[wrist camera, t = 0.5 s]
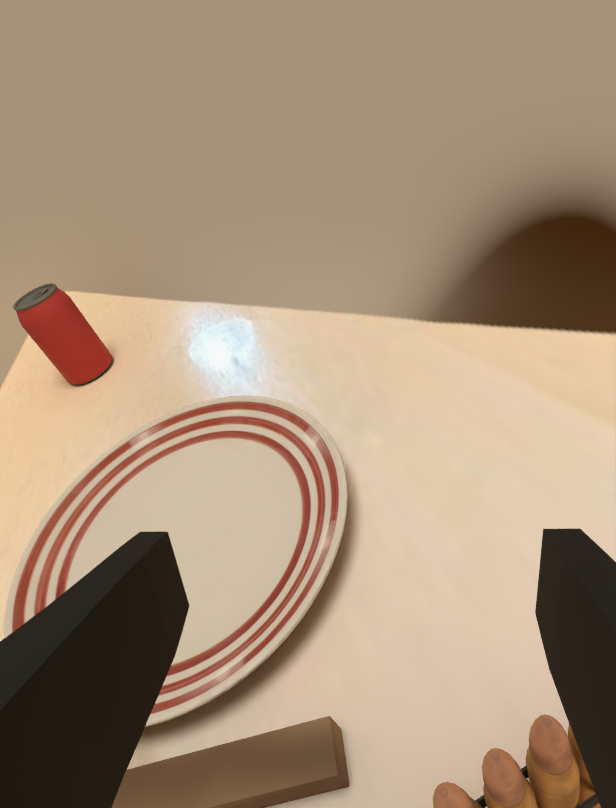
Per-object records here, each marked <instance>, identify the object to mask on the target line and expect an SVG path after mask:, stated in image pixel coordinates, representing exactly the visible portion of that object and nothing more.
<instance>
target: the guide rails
mask: <svg viewBox="0 0 616 808" xmlns="http://www.w3.org/2000/svg"><path fill="white" fill-rule="evenodd" d="M348 786H349V780H348V773H347V767H346V760H345V753H344V746H343V739H342V733H341V729H340V727H339V726H338V725H337V724H336V723H335V722H334V720H333V719H332V718H331V717H330V716H328V717H324V718H320V719H316V720H313V721H309V722H305V723H301V724H298V725H294V726H290V727H286V728H283V729H279V730H275V731H271V732H268V733H264V734H260V735H256V736H253V737H249V738H245V739H241V740H237V741H234V742H230V743H226V744H222V745H219V746H215V747H211V748H207V749H204V750H200V751H196V752H192V753H189V754H185V755H181V756H177V757H174V758H170V759H166V760H162V761H158V762H155V763H151V764H147V765H143V766H140V767H136V768H132V769H128V770H126V772H125V774H124V777H123V779H122V782H121V784H120V787H119V790H118V792H117V795H116V797H115V800H114V802H113V805H112V808H263V807H267V806H272V805H276V804H280V803H284V802H288V801H292V800H296V799H300V798H304V797H308V796H312V795H316V794H320V793H324V792H328V791H332V790H336V789H340V788H344V787H348Z"/></svg>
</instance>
